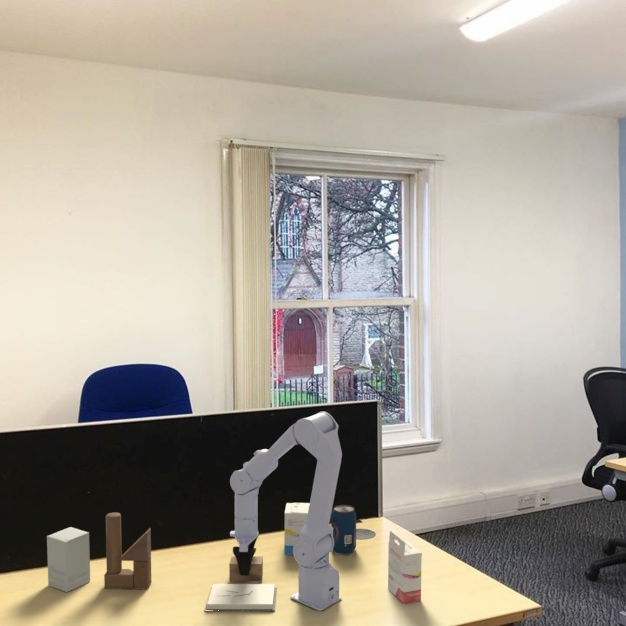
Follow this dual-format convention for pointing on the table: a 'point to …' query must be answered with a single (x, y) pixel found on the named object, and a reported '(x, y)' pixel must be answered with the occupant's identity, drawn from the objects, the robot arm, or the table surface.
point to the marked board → (242, 597)
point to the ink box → (294, 524)
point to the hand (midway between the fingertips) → (246, 568)
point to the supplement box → (68, 559)
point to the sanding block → (253, 576)
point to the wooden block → (126, 558)
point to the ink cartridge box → (404, 570)
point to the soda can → (344, 529)
